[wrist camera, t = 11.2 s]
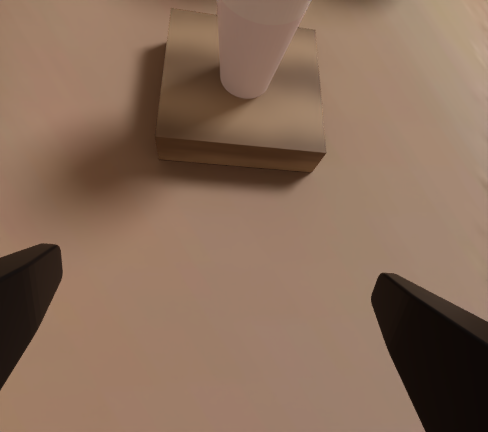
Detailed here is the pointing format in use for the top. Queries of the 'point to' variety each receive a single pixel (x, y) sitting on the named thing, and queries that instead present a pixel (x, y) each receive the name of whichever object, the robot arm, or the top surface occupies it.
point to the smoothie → (254, 41)
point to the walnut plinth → (237, 104)
